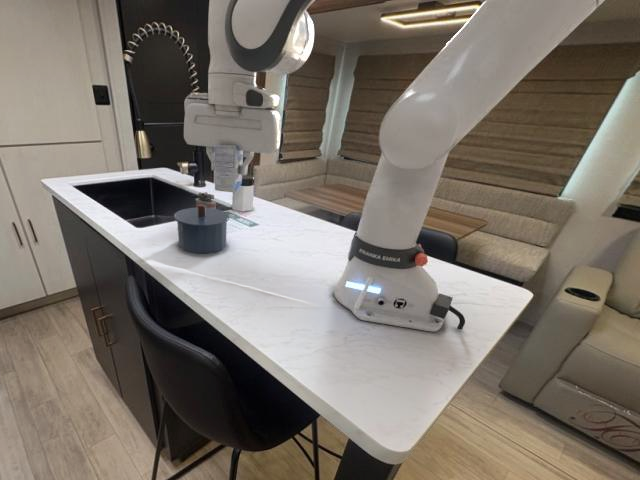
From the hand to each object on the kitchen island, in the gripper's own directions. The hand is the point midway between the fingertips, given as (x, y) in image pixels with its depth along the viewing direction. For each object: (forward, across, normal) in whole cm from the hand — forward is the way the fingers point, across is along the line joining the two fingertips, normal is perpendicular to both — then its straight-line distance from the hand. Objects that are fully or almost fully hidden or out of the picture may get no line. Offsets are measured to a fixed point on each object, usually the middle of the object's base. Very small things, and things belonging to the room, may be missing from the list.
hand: (229, 172), depth 65 cm
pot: (+23, -12, +9) cm, 28 cm away
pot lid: (+15, -12, +9) cm, 21 cm away
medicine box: (+3, 0, 0) cm, 3 cm away
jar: (+23, -17, +50) cm, 57 cm away
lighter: (+23, -21, +28) cm, 42 cm away
